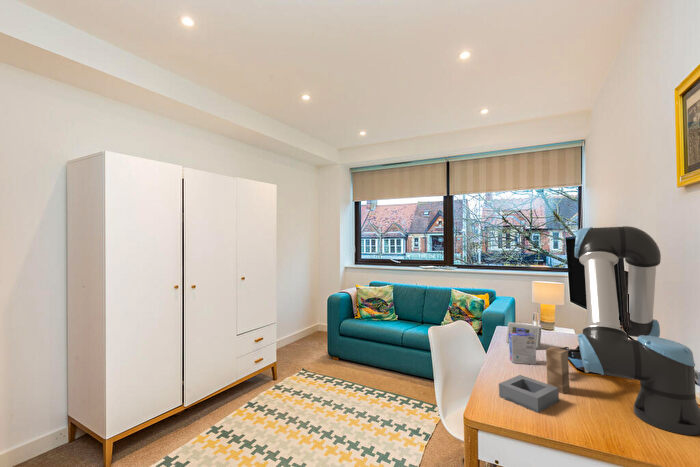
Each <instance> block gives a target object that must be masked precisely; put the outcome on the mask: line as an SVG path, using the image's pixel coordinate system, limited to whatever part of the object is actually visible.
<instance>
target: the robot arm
mask: <svg viewBox="0 0 700 467" xmlns="http://www.w3.org/2000/svg"><path fill="white" fill-rule="evenodd" d="M661 256H662V255H661V250H660V247H659V245H658V243H657V242H656V241H655V240H654V238H653V237H652V236H651V235H650V234H648V233H647V232H646V231H644V230H642V229H640V228H638V227H634V226H628V225H625V226H609V227H606V226H605V227H592V226H590V227H583V228H578V230H577V231H576V235H575V242H574V258H576V259H579V263H580V264H581V265H583V266H584V279H585V281H584V282H585V295H586V296H585V299H586V317H587V325H586V326H584V327H583V328H582V333H581V332H580V333H578V334H577V339H578V340H577V341H578V345H577V347H576V348H569V347H568V346H564V347H559V348H560V349H564V350H568V359H572V360H573V359H574V360H575V359H576V360H578V361H580V360H581V362H582V365H583V367H584V373H595V374H598V375H601V376H605V375H606V376H612V377H617V378H618V377H619V378H623V379H627V380H635V381H640V382H639V385H640V389H639V391H638V394H637V396H636V399H635V401H634V404H633V413H634V415H635V416H636V417H637V418H638V419H640V420H641V421H643V422H644V423H647V424H649V425H651V426H653V427H655V428H658V429H661V430H664V431H668V432H670V433H676V434H680V435H687V436H700V405H699V404H698V402H697V397H696V377H695V376H696V374H695V373H696V372H695V366H696V363H695V360H694V354H693V353H694V352H693V351H692V350H691V348H689V347H688V345H684V344H682V343H680V342H678V341H674V340H671V339H669V338H662V337H660V335H661V328H660V322H659V320H657V319H654V308H655V306H654V304H655V291H656V275H657V274H656V273H657V272H656V271H657V267H658V266H659V265H660V264H661V261H662V260H661V258H662V257H661ZM620 259H624V261H625V263H626V264H627V265H628V272H627V273H628V274H627V275H628V278H627V283H628V284H627V295H628V294H629V313H630V326H629V333H628V336H627V333H626V332H625V331H624V330H623V329H622V327H620V320H619V316H620V312H619V311H620V309H619V301H618V294H617V293H618V292H617V283H616V274H615V273H616V272H615V265H616V264H618V263H619V260H620ZM628 337H636V338H637V340H636V339H629V338H628ZM546 349H548V347H547V348H546ZM544 361H545V362H546V353H544Z"/></svg>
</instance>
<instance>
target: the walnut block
mask: <svg viewBox="0 0 700 467" xmlns="http://www.w3.org/2000/svg"><path fill="white" fill-rule="evenodd" d="M547 348H548V347H547ZM547 348H546V349H545V354H546V361H545V362H546V381H547V383H546V384H549V385H552V386H555V387H558V391H559V394H565V393H566V392H569V391H570V372H569V371H570V370H569V366H570V365H569V357H568V350H564V349H560V348H561V347H555V346H551V347H549V348H548V349H547Z"/></svg>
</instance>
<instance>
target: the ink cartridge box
mask: <svg viewBox="0 0 700 467" xmlns="http://www.w3.org/2000/svg"><path fill="white" fill-rule="evenodd" d="M520 329H521V330H524V331H518V330H520ZM508 344H509V346H508V348H509V360H510V362H511V363H512V364H525V365H526V364H528V365H536V364H537V351H536V350H537V349H535V336H534V335H533V334H532V333H526V332H525V328H516V333H509V343H508Z"/></svg>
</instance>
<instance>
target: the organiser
mask: <svg viewBox="0 0 700 467" xmlns="http://www.w3.org/2000/svg"><path fill="white" fill-rule="evenodd" d="M498 394H499V396H498V398H501V399H504V400H506V401H509V402H511V403H512V404H516V405H518V406H520V407H523V408H525V409H528V410H530V411H533V412H534V413H537V414H539V413H541V412H543V411H545V410H546V409H549V408H550V407H552V406H554V405H555V404H557V403H559V401H560V399H559V398H560V397H559V396H560V395H559V394H560V393H559V391H558V387H555V386H552V385H549V384H547V383H545V382H543V381H540V380H536V379H534V378H532V377H531V378H530V377H528V376H524V375H522V374H519V375H516V376H514V377H512V378H509V379H507V380H506V379H505V380H504V381H502V382H499V383H498Z"/></svg>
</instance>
